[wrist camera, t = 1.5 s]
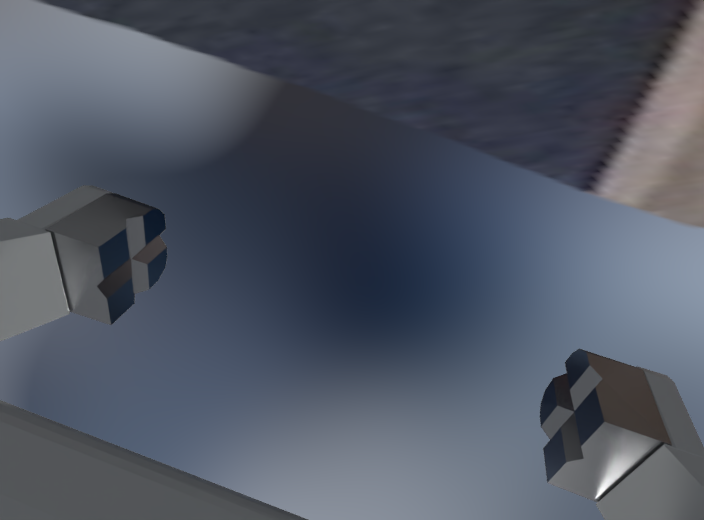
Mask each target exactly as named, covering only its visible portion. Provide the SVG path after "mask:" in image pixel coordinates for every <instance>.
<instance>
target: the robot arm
mask: <svg viewBox="0 0 704 520" xmlns="http://www.w3.org/2000/svg"><path fill="white" fill-rule="evenodd" d="M165 229H166V223H165V214H164V213H163V212H162V211H161V210H160V209H158V208H155V207H152V206H149V205H147V204H144V203H141V202H138V201H135V200H132V199H130V198H127V197H124V196H121V195H119V194H115V193H112V192H109V191H107V190H104V189H101V188H97V187H95V186H81V187H79V188H77V189H75V190H73V191H72V192H70V193H68V194H66V195H64V196H62V197H60V198H58V199H56V200H54V201H52V202H51V203H49V204H47V205H45V206H43V207H41V208H39V209H37V210H35V211H33V212H32V213H30V214H28V215H26V216H24V217H22V218H20V219H18V220H14V219H11V218H4V219H0V341H2V340H5V339H8V338H10V337H13V336H15V335H18V334H20V333H23V332H25V331H28V330H30V329H33V328H35V327H38V326H40V325H43V324H46V323H48V322H50V321H53V320H56V319H58V318H61V317H63V316H66V315H68V314H70V312H73V313H76V314H79V315H82V316H85V317H88V318H91V319H94V320H97V321H100V322H103V323H106V324H109V325H112V324H113V323H114V322H115V321H116V320H117V319H118V318H119V317H120V316H121V315H123V314H124V313H125V312H126V311H127V310H128V309H129V308H130V307H131V306H132V305H133V304H134V303H135V294H136V293H139V292H143V291H146V290H149V289H150V288H151V287H152V286H153V285H154V284H155V283H156V282H157V281H158V280H159V278H160V276H161V275H162V273H163V271H164V269H165V266H166V261H167V247H166V245H165V243H164V242H163V240H162V239H161V237H160V234H161V233H162V232H163V231H164V230H165ZM565 366H566V371H567V373H566V374H564V375H561V376H558V377H555V378H553V379H552V381H551V382H550V384H549V385H548V387H547V388H546V390H545V392H544V395H543V399H542V401H541V407H540V422H541V428H542V429H543V430H544V432H545V433H546V435H547V436H548V437H549V439H550V441H549V442H548V443H547V444H546V446H545V447H544V448H543V450H544V458H545V466H546V475H547V482H548V483H549V484H552V485H554V486H557V487H559V488H562V489H565V490H567V491H570V492H572V493H575V494H577V495H580V496H582V497H585V498H587V499H590V500H593V501H595V502H598V503H597V504H596V505H597V507H598V509H599V511H600V512H601V514H602V516H603V517H604V519H605V520H704V447H703V445H702V443H701V440H700V438H699V436H698V434H697V432H696V429H695V427H694V425H693V423H692V421H691V418H690V416H689V414H688V412H687V410H686V407H685V405H684V403H683V401H682V398H681V396H680V394H679V392H678V390H677V387H676V385H675V383H674V382H673V381H672V380H671V379H670V378H669V377H668V376H666V375H663V374H660V373H657V372H653V371H650V370H647V369H644V368H640V367H634V366H631V365H628V364H625V363H622V362H619V361H615V360H613V359H610V358H606V357H603V356H600V355H597V354H594V353H591V352H588V351H585V350H582V349H578V350H576V351H575V352H573V353H572V354H571V355H570V357H569V358H568V359H567V360H566V362H565ZM0 520H308V519H305V518H302V517H300V516H297V515H295V514H292V513H290V512H287V511H284V510H282V509H279V508H277V507H274V506H271V505H269V504H266V503H264V502H261V501H259V500H256V499H253V498H251V497H248V496H246V495H243V494H241V493H238V492H235V491H233V490H230V489H228V488H225V487H222V486H220V485H217V484H215V483H212V482H210V481H207V480H204V479H202V478H200V477H197V476H194V475H192V474H189V473H187V472H184V471H181V470H179V469H176V468H174V467H171V466H169V465H166V464H163V463H161V462H158V461H155V460H153V459H151V458H148V457H145V456H142V455H140V454H138V453H135V452H132V451H130V450H127V449H124V448H122V447H120V446H117V445H114V444H112V443H109V442H106V441H104V440H101V439H99V438H96V437H94V436H91V435H89V434H86V433H83V432H81V431H78V430H76V429H73V428H70V427H68V426H65V425H63V424H60V423H57V422H55V421H52V420H50V419H47V418H45V417H42V416H39V415H37V414H34V413H32V412H29V411H27V410H24V409H21V408H19V407H16V406H14V405H11V404H8V403H6V402H3V401H0Z"/></svg>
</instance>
